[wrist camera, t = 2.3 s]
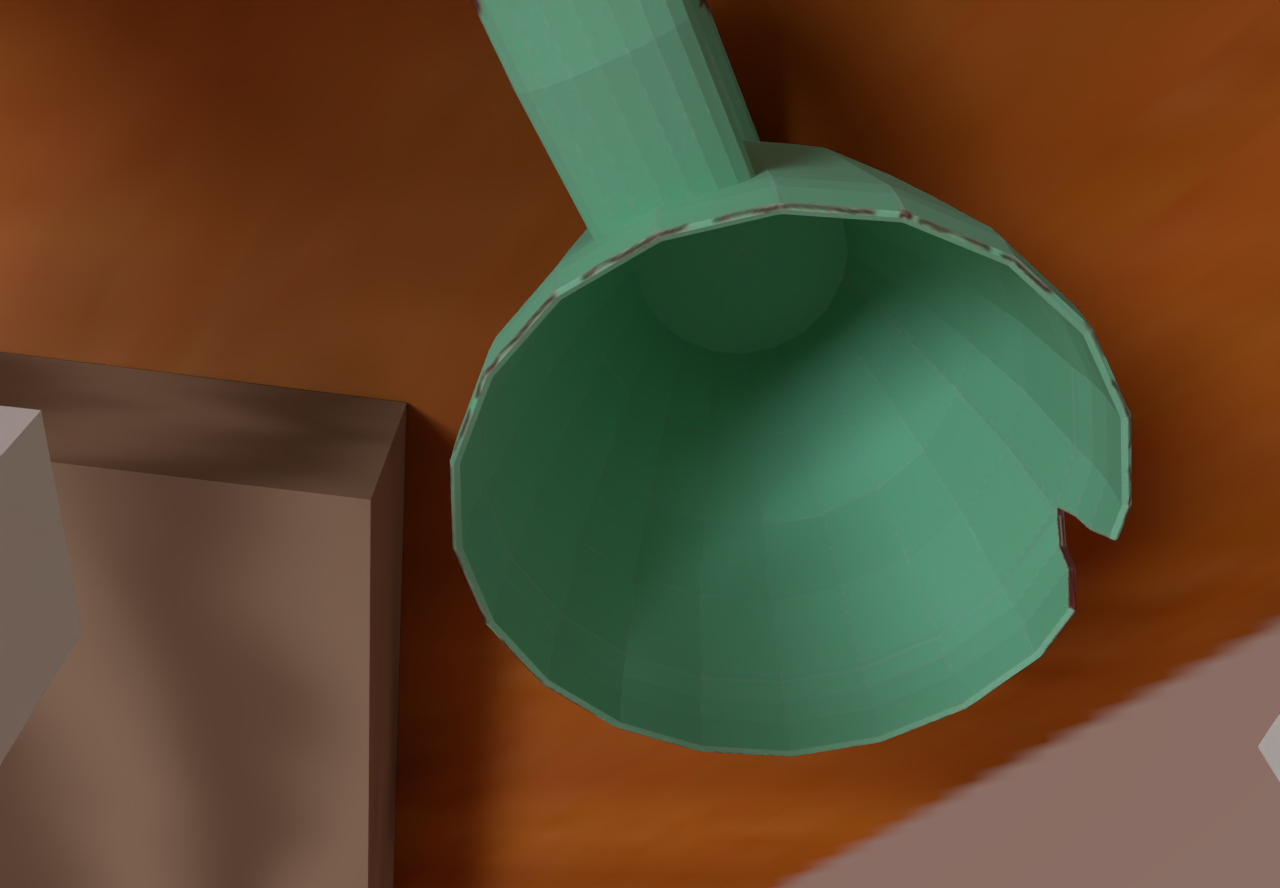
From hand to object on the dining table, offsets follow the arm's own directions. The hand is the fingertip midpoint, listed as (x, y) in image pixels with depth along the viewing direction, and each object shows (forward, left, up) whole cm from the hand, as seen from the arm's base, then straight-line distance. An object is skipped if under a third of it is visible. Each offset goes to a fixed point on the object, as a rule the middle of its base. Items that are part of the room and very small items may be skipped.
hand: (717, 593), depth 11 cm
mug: (0, 0, -14) cm, 14 cm away
